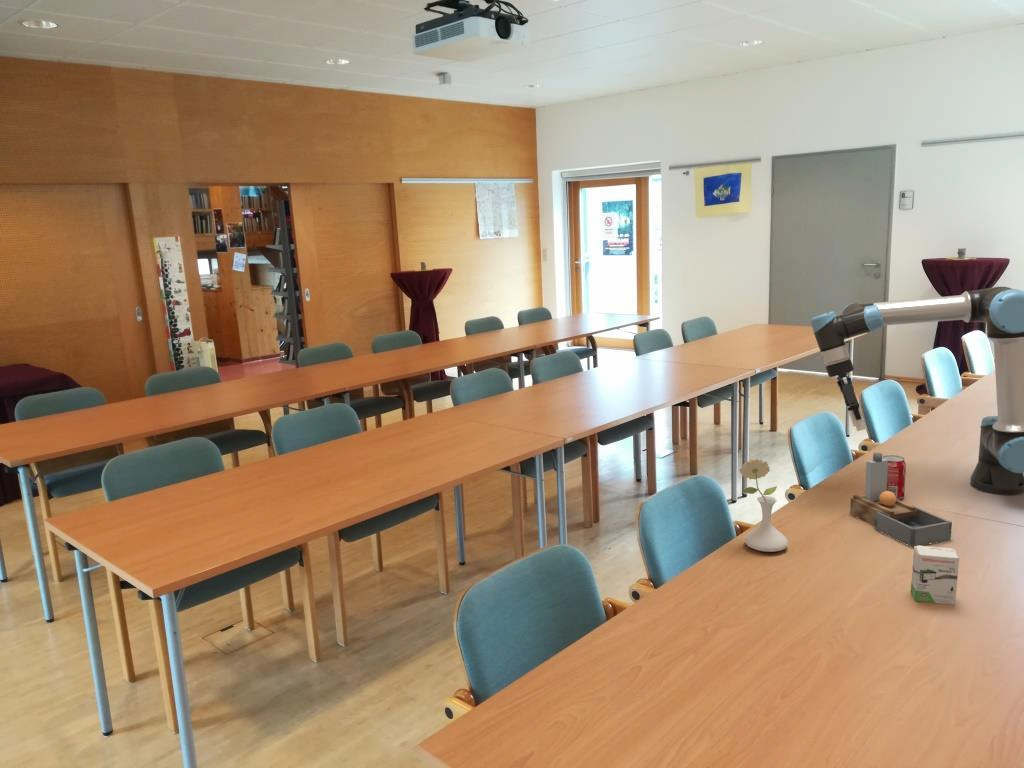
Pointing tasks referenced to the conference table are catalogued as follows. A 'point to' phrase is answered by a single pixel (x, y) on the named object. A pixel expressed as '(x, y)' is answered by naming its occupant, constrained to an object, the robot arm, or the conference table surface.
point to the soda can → (896, 475)
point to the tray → (915, 528)
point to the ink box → (934, 575)
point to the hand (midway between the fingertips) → (860, 427)
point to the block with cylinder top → (876, 477)
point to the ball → (887, 498)
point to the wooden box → (879, 509)
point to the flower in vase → (765, 534)
